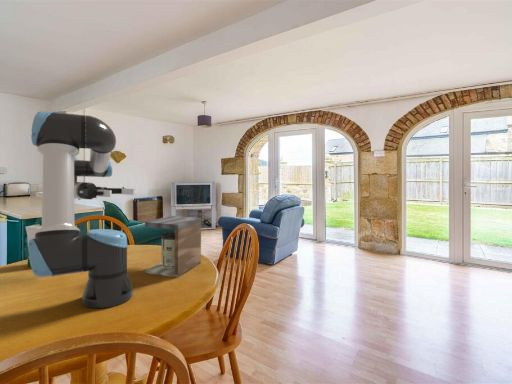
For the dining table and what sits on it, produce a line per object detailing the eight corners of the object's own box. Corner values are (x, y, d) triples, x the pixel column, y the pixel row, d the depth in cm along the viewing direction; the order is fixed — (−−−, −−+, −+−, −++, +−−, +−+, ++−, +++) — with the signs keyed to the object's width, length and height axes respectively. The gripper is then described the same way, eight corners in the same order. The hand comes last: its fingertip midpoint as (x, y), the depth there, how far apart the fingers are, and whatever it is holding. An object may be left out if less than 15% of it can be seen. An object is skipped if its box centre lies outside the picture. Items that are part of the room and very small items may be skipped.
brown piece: (145, 272, 121) (145, 222, 120) (171, 259, 140) (171, 215, 139) (177, 277, 116) (178, 224, 115) (200, 263, 136) (201, 217, 134)
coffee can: (182, 260, 136) (183, 231, 135) (185, 267, 126) (186, 236, 125) (160, 262, 132) (160, 232, 131) (161, 269, 122) (161, 237, 121)
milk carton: (58, 263, 130) (57, 220, 129) (37, 269, 122) (36, 223, 120) (44, 261, 133) (43, 219, 132) (23, 266, 124) (22, 222, 123)
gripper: (106, 197, 139) (142, 199, 133) (57, 201, 115) (99, 204, 109) (106, 181, 139) (142, 183, 133) (57, 183, 115) (99, 184, 109)
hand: (123, 192), depth 121 cm, fingers open, 13 cm apart
